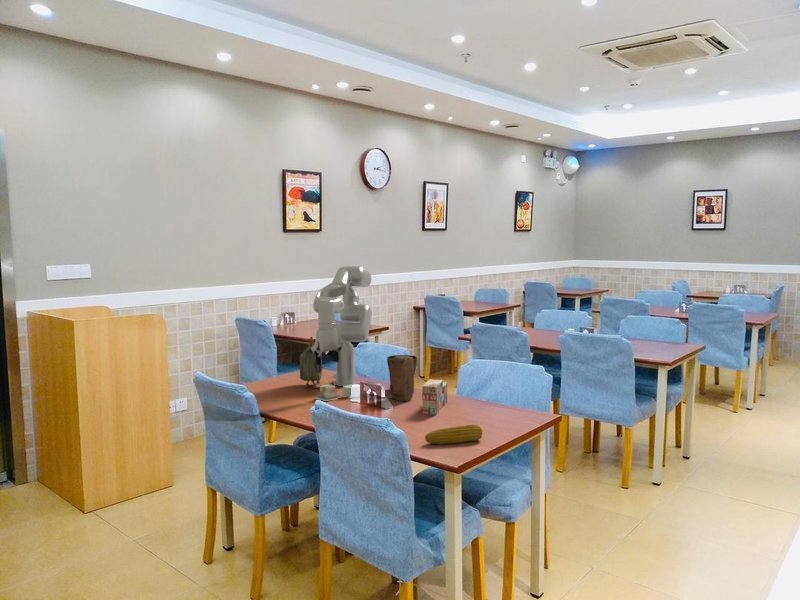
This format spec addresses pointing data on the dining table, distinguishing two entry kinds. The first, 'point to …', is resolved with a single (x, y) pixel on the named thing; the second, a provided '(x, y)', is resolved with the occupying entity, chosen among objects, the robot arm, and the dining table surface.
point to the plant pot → (405, 355)
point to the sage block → (347, 390)
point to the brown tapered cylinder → (402, 378)
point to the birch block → (327, 391)
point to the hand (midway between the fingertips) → (327, 363)
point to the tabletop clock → (310, 366)
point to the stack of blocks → (434, 396)
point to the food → (454, 435)
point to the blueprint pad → (327, 398)
